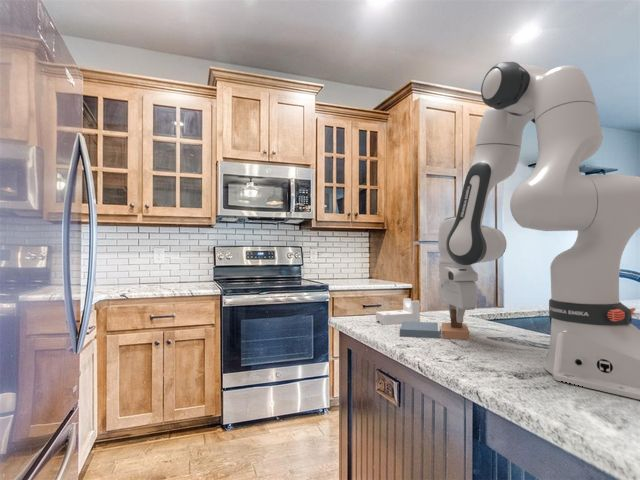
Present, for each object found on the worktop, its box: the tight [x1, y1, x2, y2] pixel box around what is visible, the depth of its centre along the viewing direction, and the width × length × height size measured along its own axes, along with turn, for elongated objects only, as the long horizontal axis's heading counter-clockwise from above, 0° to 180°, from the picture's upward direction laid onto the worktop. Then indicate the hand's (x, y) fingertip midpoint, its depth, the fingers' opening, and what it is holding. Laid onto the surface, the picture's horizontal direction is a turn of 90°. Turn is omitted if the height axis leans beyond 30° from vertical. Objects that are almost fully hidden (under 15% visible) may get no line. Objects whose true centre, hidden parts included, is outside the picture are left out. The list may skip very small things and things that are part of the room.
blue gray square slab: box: [399, 321, 441, 339], centre depth 112 cm, size 11×12×2 cm
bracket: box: [375, 298, 421, 326], centre depth 130 cm, size 13×7×8 cm, turn 103°
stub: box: [441, 309, 471, 340], centre depth 110 cm, size 7×12×7 cm, turn 163°
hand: (456, 320), depth 110 cm, fingers closed on stub, 3 cm apart
